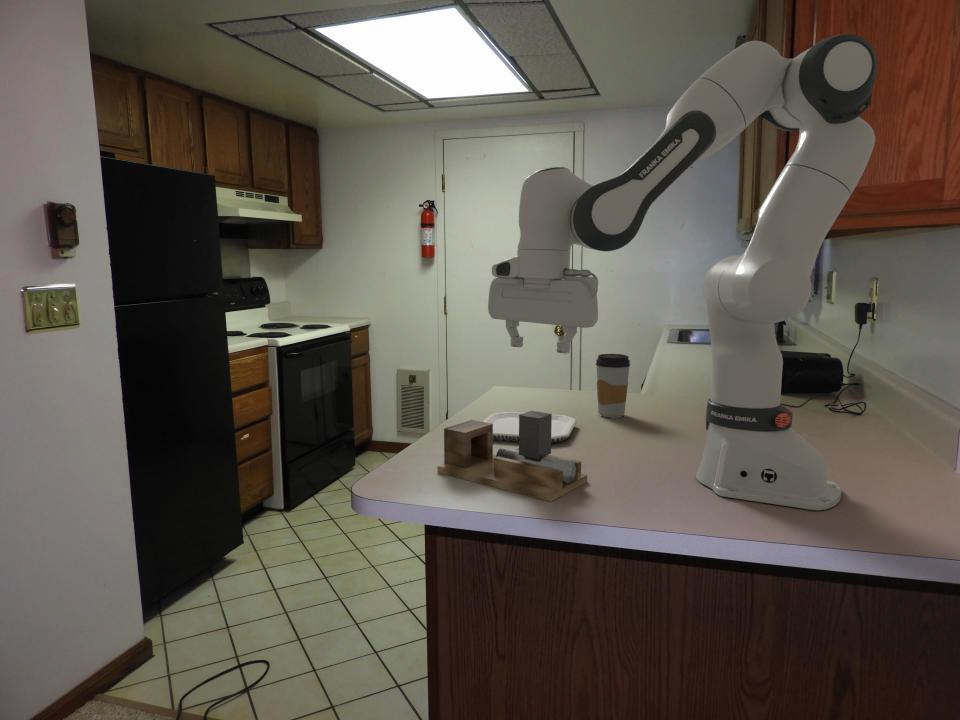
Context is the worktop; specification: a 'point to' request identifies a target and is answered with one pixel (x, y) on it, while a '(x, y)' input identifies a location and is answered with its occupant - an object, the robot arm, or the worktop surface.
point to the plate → (509, 426)
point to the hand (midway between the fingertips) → (539, 349)
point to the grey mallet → (537, 444)
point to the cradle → (500, 464)
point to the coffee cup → (612, 384)
